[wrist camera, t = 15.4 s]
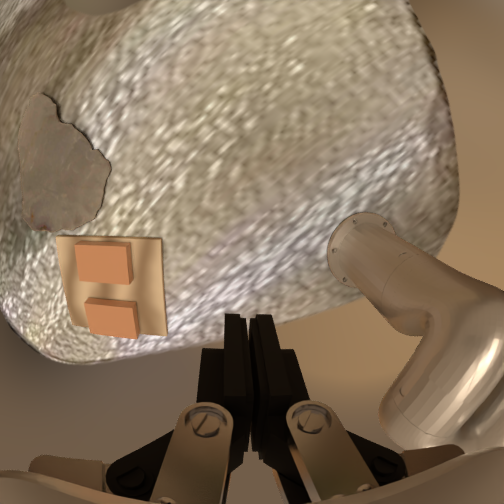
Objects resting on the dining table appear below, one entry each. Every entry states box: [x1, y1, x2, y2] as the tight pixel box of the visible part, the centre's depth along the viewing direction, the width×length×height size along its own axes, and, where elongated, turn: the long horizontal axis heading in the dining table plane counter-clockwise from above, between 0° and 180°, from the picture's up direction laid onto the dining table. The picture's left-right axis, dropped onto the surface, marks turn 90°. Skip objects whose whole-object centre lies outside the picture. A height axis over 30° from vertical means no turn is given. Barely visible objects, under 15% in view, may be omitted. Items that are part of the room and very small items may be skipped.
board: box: [56, 235, 168, 336], centre depth 43 cm, size 19×17×1 cm
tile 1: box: [74, 241, 133, 285], centre depth 39 cm, size 2×6×9 cm
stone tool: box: [17, 92, 111, 233], centre depth 34 cm, size 20×3×25 cm
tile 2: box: [84, 298, 140, 339], centre depth 43 cm, size 2×6×9 cm
